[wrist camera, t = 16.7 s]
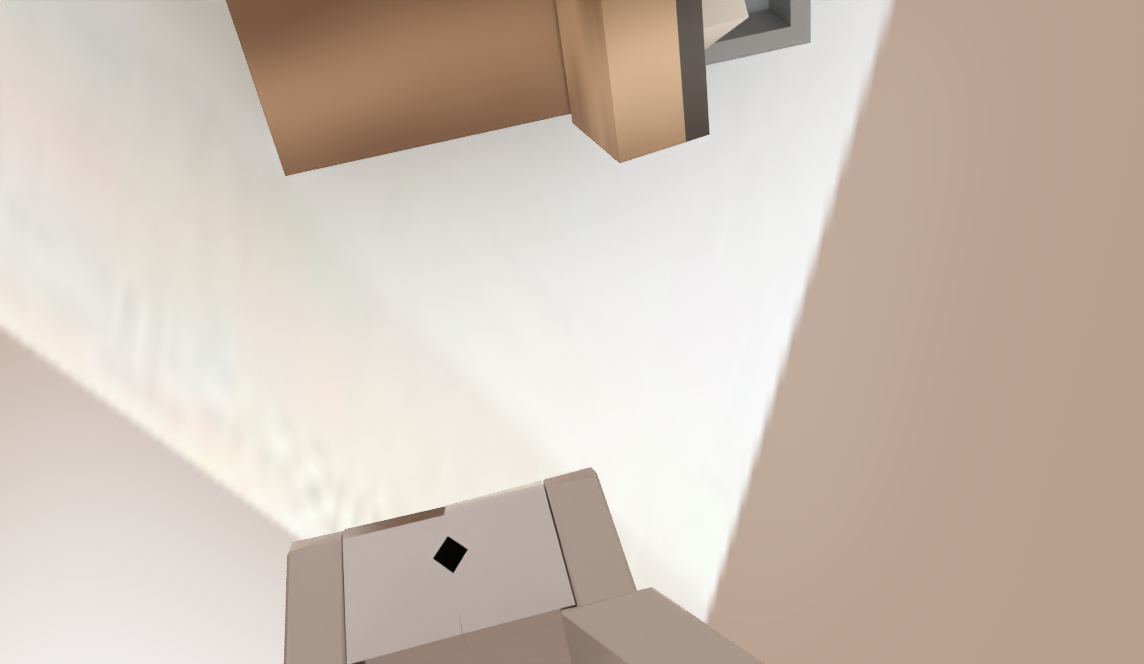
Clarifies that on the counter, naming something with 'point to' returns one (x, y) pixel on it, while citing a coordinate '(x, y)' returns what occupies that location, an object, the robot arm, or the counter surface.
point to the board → (397, 72)
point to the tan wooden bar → (635, 72)
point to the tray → (764, 30)
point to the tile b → (721, 18)
